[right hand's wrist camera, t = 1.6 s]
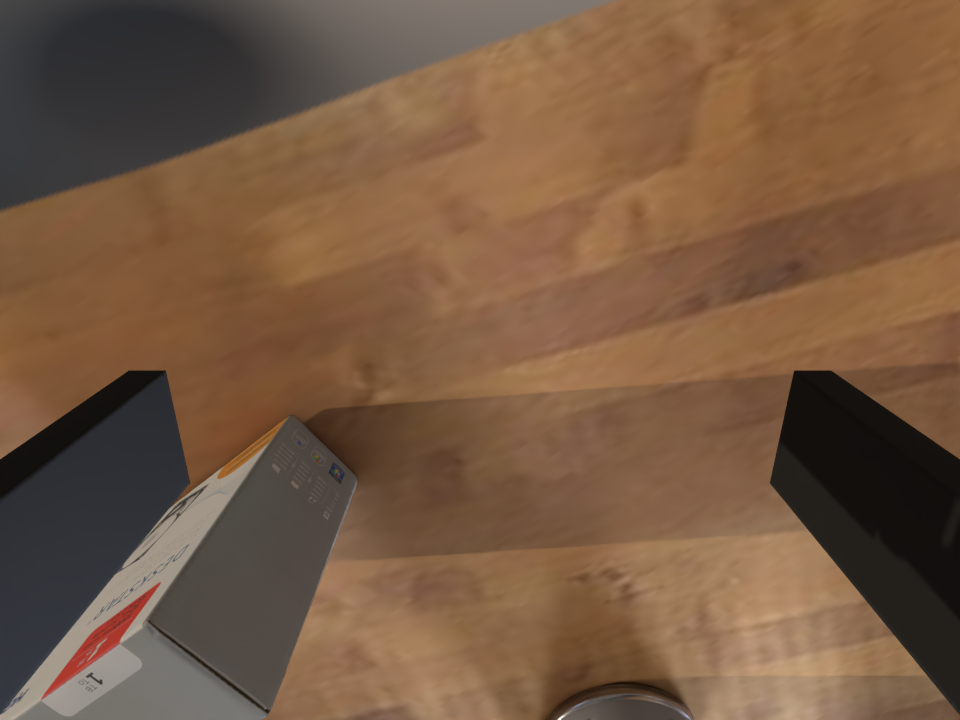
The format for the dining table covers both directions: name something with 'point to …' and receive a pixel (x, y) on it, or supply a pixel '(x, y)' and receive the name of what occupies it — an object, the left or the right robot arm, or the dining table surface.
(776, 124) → the dining table surface
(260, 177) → the dining table surface
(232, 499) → the hard drive box
